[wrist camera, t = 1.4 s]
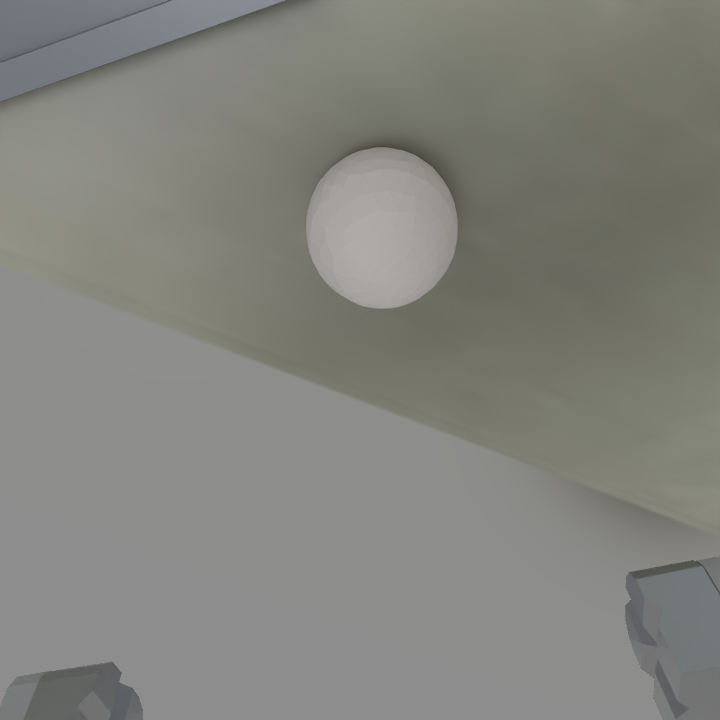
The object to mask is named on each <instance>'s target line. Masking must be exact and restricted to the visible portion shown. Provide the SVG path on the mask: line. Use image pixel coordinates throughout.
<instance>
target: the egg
mask: <svg viewBox="0 0 720 720" xmlns="http://www.w3.org/2000/svg"><path fill="white" fill-rule="evenodd" d="M306 236H307V243H308V250H309V253H310V255H311V258H312V261H313V264H314V266H315V267H316V269H317V271H318V272H319V274H320V275H321V277H322V279H323V280H324V281H325V282H326V283H327V284H328V285H329V286H330V287H331V288H332V289H333V290H334V291H335V292H337V293H338V294H340V295H342V296H343V297H345V298H347V299H348V300H350V301H352V302H354V303H356V304H359V305H361V306H364V307H370V308H376V309H387V308H397V307H400V306H404V305H407V304H409V303H411V302H414V301H416V300H418V299H419V298H420V297H422V296H423V295H424V294H425V293H427V292H428V291H429V290H431V289H432V288H433V287H434V286H435V285H436V284H437V283H438V281H439V280H440V279H441V278H442V276H443V275H444V274H445V273H446V271H447V270H448V267H449V265H450V263H451V261H452V259H453V257H454V253H455V248H456V243H457V238H458V217H457V212H456V208H455V203H454V200H453V198H452V195H451V193H450V190H449V189H448V187H447V185H446V184H445V182H444V180H443V179H442V178H441V176H440V175H439V174H438V173H437V172H436V171H435V170H434V168H433V167H432V166H431V165H429V164H428V163H426V162H425V161H423V160H422V159H420V158H419V157H417V156H416V155H414V154H411V153H409V152H406V151H403V150H398V149H393V148H389V147H376V148H371V149H366V150H361V151H357V152H355V153H353V154H351V155H349V156H347V157H345V158H344V159H342V160H341V161H339V162H338V163H337V164H335V165H334V166H332V167H331V168H330V169H329V170H328V172H327V173H326V174H325V175H324V176H323V177H322V179H321V180H320V181H319V182H318V184H317V186H316V188H315V190H314V192H313V194H312V197H311V201H310V204H309V207H308V211H307V216H306Z"/></svg>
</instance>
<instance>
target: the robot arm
mask: <svg viewBox="0 0 720 720" xmlns="http://www.w3.org/2000/svg"><path fill="white" fill-rule="evenodd" d="M626 589H627V591H628V594H629V596H630V598H631V600H630V601H629V602H628V603H627V604H626V606H625V616H626V624H627V629H628V634H629V638H630V641H631V644H632V647H633V650H634V653H635V655H636V657H637V660H638V662H639V665H640V667H641V669H642V670H644V671H645V672H646V673H648V674H649V675H650V676H652V677H653V678H654V679H655V680H654V700H655V702H656V704H657V707H658V709H659V711H660V714H661V716H662V718H663V720H720V556H719V557H713V558H708V559H703V560H698V561H694V560H691V561H686V562H681V563H676V564H670V565H665V566H660V567H654V568H649V569H644V570H639V571H633V572H629V573H628V575H627V576H626ZM120 677H121V672H120V670H119V669H118V668H117V667H116V665H115V664H114V663H113V662H107V663H100V664H94V665H88V666H82V667H75V668H69V669H63V670H56V671H47V672H42V673H36V674H30V675H24V676H19V677H17V678H16V679H15V680H14V681H13V682H12V683H11V685H10V686H9V687H8V689H7V691H6V693H5V696H4V698H3V700H2V703H1V705H0V720H143V709H142V706H141V703H140V700H139V696H138V695H137V694H136V692H135V691H134V689H133V688H131V687H129V686H127V685H124V684H122V683H120V682H119V681H120Z"/></svg>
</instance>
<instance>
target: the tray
mask: <svg viewBox="0 0 720 720" xmlns="http://www.w3.org/2000/svg"><path fill="white" fill-rule="evenodd" d="M282 1H285V0H0V101H3V100H6V99H9V98H12V97H14V96H17V95H20V94H23V93H26V92H29V91H31V90H34V89H37V88H40V87H43V86H45V85H48V84H51V83H54V82H57V81H60V80H62V79H65V78H68V77H71V76H74V75H76V74H79V73H82V72H85V71H88V70H91V69H93V68H96V67H99V66H102V65H105V64H108V63H110V62H113V61H116V60H119V59H122V58H124V57H127V56H130V55H133V54H136V53H139V52H141V51H144V50H147V49H150V48H153V47H155V46H158V45H161V44H164V43H167V42H170V41H172V40H175V39H178V38H181V37H184V36H186V35H189V34H192V33H195V32H198V31H201V30H203V29H206V28H209V27H212V26H215V25H218V24H220V23H223V22H226V21H229V20H232V19H234V18H237V17H240V16H243V15H246V14H249V13H251V12H254V11H257V10H260V9H263V8H265V7H268V6H271V5H274V4H277V3H280V2H282Z"/></svg>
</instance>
